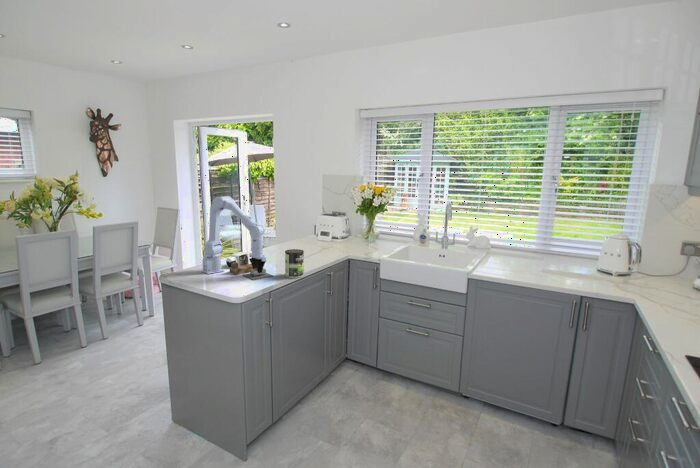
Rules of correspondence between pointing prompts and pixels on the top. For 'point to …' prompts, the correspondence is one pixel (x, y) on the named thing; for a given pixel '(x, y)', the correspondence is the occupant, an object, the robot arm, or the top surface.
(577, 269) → the top surface
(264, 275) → the gray switch plate
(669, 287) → the top surface
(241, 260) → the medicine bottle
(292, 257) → the coffee can
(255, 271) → the lever cap
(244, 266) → the board with knob
